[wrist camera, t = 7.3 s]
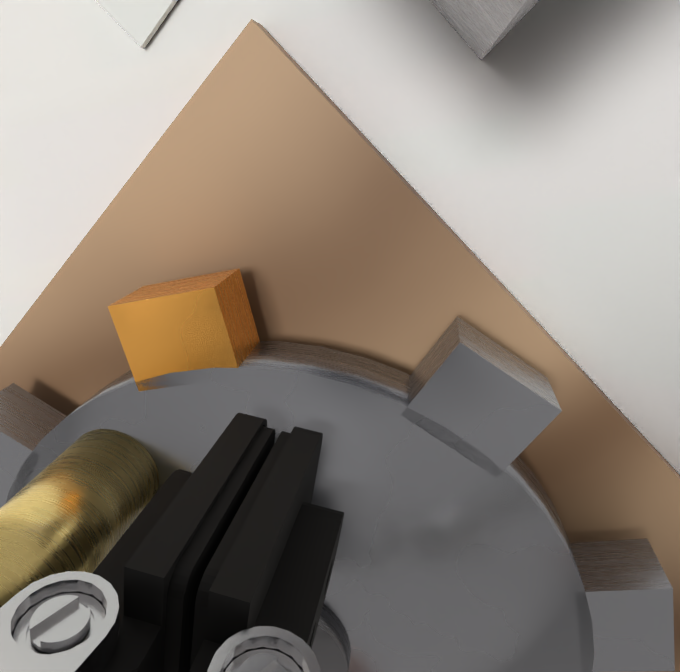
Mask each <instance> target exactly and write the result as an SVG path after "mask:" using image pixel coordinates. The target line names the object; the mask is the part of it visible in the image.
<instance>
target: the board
mask: <svg viewBox="0 0 680 672" xmlns="http://www.w3.org/2000/svg"><path fill="white" fill-rule="evenodd" d="M238 268H239V269H240V272H241V276H242V280H243V283H244V287H245V290H246V294H247V297H248V301H249V304H250V308H251V312H252V315H253V319H254V322H255V326H256V329H257V333H258V337H259V340H260V341H284V342H292V343H300V344H308V345H316V346H323V347H327V348H331V349H335V350H339V351H343V352H347V353H351V354H355V355H359V356H363V357H366V358H369V359H371V360H374V361H376V362H379V363H382V364H384V365H387V366H390V367H392V368H395V369H397V370H400V371H403V372H405V373H407V374H409V375H410V374H411V373H412V372H413V371H414V369H415V368H416V367H417V366H418V364H419V363H420V362H421V361H422V359H423V358H424V357H425V356H426V354H427V353H428V352H429V351H430V349H431V348H432V347H433V346H434V344H435V343H436V342H437V341H438V339H439V338H440V337H441V336H442V334H443V333H444V332H445V331H446V329H447V328H448V327H449V326H450V324H451V323H452V322H453V321H454V319H455V318H456V317H457V316H458V317H459V318H461V319H462V320H463V321H465V322H466V323H468V324H469V325H471V326H472V327H474V328H475V329H477V330H478V331H480V332H481V333H483V334H484V335H486V336H487V337H489V338H490V339H492V340H493V341H494V342H496V343H497V344H499V345H500V346H502V347H503V348H505V349H506V350H508V351H509V352H511V353H512V354H514V355H515V356H517V357H518V358H520V359H521V360H523V361H524V362H525V363H527V364H528V365H530V366H531V367H533V368H534V369H536V370H537V371H539V372H540V373H542V374H543V375H545V376H546V377H547V378H548V380H549V383H550V385H551V387H552V389H553V392H554V394H555V396H556V399H557V401H558V403H559V405H560V408H561V410H562V411H561V412H560V413H559V414H558V415H557V417H556V418H555V419H554V420H553V421H552V422H551V423H550V424H549V425H548V426H547V427H546V428H545V429H544V430H543V431H542V432H541V433H540V434H539V435H538V436H537V437H536V438H535V439H534V440H533V441H532V442H531V443H530V444H529V445H528V446H527V447H526V448H525V449H524V450H523V451H522V452H521V453H520V454H519V456H520V458H521V459H522V460H523V461H524V462H525V464H526V465H527V466H528V467H529V468H530V470H531V471H532V472H533V473H534V474H535V476H536V477H537V479H538V480H539V482H540V484H541V485H542V487H543V488H544V490H545V492H546V493H547V495H548V496H549V498H550V500H551V501H552V503H553V504H554V506H555V508H556V510H557V513H558V515H559V518H560V520H561V522H562V525H563V527H564V529H565V532H566V534H567V536H568V539H569V542H570V543H576V542H593V541H610V540H627V539H644V538H647V539H648V541H649V543H650V545H651V547H652V549H653V550H654V552H655V554H656V556H657V558H658V560H659V562H660V564H661V566H662V568H663V570H664V572H665V574H666V576H667V578H668V580H669V582H670V584H671V586H672V588H673V614H674V657H675V671H655V672H680V475H679V474H678V473H677V472H676V471H675V470H674V469H673V467H672V466H671V465H670V464H669V463H668V462H667V461H666V460H665V459H664V458H663V457H662V456H661V455H660V453H659V452H658V451H657V450H656V449H655V448H654V447H653V446H652V445H651V444H650V443H649V442H648V441H647V439H646V438H645V437H644V436H643V435H642V434H641V433H640V432H639V431H638V430H637V429H636V428H635V427H634V425H633V424H632V423H631V422H630V421H629V420H628V419H627V418H626V417H625V416H624V415H623V414H622V413H621V412H620V410H619V409H618V408H617V407H616V406H615V405H614V404H613V403H612V402H611V401H610V400H609V399H608V398H607V396H606V395H605V394H604V393H603V392H602V391H601V390H600V389H599V388H598V387H597V386H596V385H595V384H594V382H593V381H592V380H591V379H590V378H589V377H588V376H587V375H586V374H585V373H584V372H583V371H582V370H581V368H580V367H579V366H578V365H577V364H576V363H575V362H574V361H573V360H572V359H571V358H570V357H569V356H568V354H567V353H566V352H565V351H564V350H563V349H562V348H561V347H560V346H559V345H558V344H557V343H556V342H555V340H554V339H553V338H552V337H551V336H550V335H549V334H548V333H547V332H546V331H545V330H544V329H543V328H542V326H541V325H540V324H539V323H538V322H537V321H536V320H535V319H534V318H533V317H532V316H531V315H530V314H529V312H528V311H527V310H526V309H525V308H524V307H523V306H522V305H521V304H520V303H519V302H518V301H517V300H516V299H515V297H514V296H513V295H512V294H511V293H510V292H509V291H508V290H507V289H506V288H505V287H504V286H503V285H502V283H501V282H500V281H499V280H498V279H497V278H496V277H495V276H494V275H493V274H492V273H491V272H490V271H489V269H488V268H487V267H486V266H485V265H484V264H483V263H482V262H481V261H480V260H479V259H478V258H477V257H476V255H475V254H474V253H473V252H472V251H471V250H470V249H469V248H468V247H467V246H466V245H465V244H464V243H463V241H462V240H461V239H460V238H459V237H458V236H457V235H456V234H455V233H454V232H453V231H452V230H451V229H450V227H449V226H448V225H447V224H446V223H445V222H444V221H443V220H442V219H441V218H440V217H439V216H438V215H437V213H436V212H435V211H434V210H433V209H432V208H431V207H430V206H429V205H428V204H427V203H426V202H425V201H424V200H423V198H422V197H421V196H420V195H419V194H418V193H417V192H416V191H415V190H414V189H413V188H412V187H411V186H410V184H409V183H408V182H407V181H406V180H405V179H404V178H403V177H402V176H401V175H400V174H399V173H398V172H397V170H396V169H395V168H394V167H393V166H392V165H391V164H390V163H389V162H388V161H387V160H386V159H385V158H384V156H383V155H382V154H381V153H380V152H379V151H378V150H377V149H376V148H375V147H374V146H373V145H372V144H371V142H370V141H369V140H368V139H367V138H366V137H365V136H364V135H363V134H362V133H361V132H360V131H359V130H358V128H357V127H356V126H355V125H354V124H353V123H352V122H351V121H350V120H349V119H348V118H347V117H346V116H345V114H344V113H343V112H342V111H341V110H340V109H339V108H338V107H337V106H336V105H335V104H334V103H333V102H332V101H331V99H330V98H329V97H328V96H327V95H326V94H325V93H324V92H323V91H322V90H321V89H320V88H319V87H318V85H317V84H316V83H315V82H314V81H313V80H312V79H311V78H310V77H309V76H308V75H307V74H306V73H305V71H304V70H303V69H302V68H301V67H300V66H299V65H298V64H297V63H296V62H295V61H294V60H293V59H292V57H291V56H290V55H289V54H288V53H287V52H286V51H285V50H284V49H283V48H282V47H281V46H280V45H279V43H278V42H277V41H276V40H275V39H274V38H273V37H272V36H271V35H270V34H269V33H268V32H267V31H266V29H265V28H264V27H263V26H262V25H261V24H259V23H257V22H255V21H254V20H252V19H251V21H250V22H249V23H248V25H247V26H246V27H245V28H244V30H243V31H242V32H241V34H240V35H239V36H238V38H237V39H236V40H235V42H234V43H233V44H232V45H231V47H230V48H229V49H228V51H227V52H226V53H225V55H224V56H223V57H222V59H221V60H220V61H219V62H218V64H217V65H216V66H215V68H214V69H213V70H212V72H211V73H210V74H209V75H208V77H207V78H206V79H205V81H204V82H203V83H202V85H201V86H200V87H199V89H198V90H197V91H196V92H195V94H194V95H193V96H192V98H191V99H190V100H189V102H188V103H187V104H186V105H185V107H184V108H183V109H182V111H181V112H180V113H179V115H178V116H177V117H176V119H175V120H174V121H173V122H172V124H171V125H170V126H169V128H168V129H167V130H166V132H165V133H164V134H163V136H162V137H161V138H160V139H159V141H158V142H157V143H156V145H155V146H154V147H153V149H152V150H151V151H150V152H149V154H148V155H147V156H146V158H145V159H144V160H143V162H142V163H141V164H140V166H139V167H138V168H137V169H136V171H135V172H134V173H133V175H132V176H131V177H130V179H129V180H128V181H127V182H126V184H125V185H124V186H123V188H122V189H121V190H120V192H119V193H118V194H117V196H116V197H115V198H114V199H113V201H112V202H111V203H110V205H109V206H108V207H107V209H106V210H105V211H104V212H103V214H102V215H101V216H100V218H99V219H98V220H97V222H96V223H95V224H94V226H93V227H92V228H91V229H90V231H89V232H88V233H87V235H86V236H85V237H84V239H83V240H82V241H81V243H80V244H79V245H78V246H77V248H76V249H75V250H74V252H73V253H72V254H71V256H70V257H69V258H68V259H67V261H66V262H65V263H64V265H63V266H62V267H61V269H60V270H59V271H58V273H57V274H56V275H55V276H54V278H53V279H52V280H51V282H50V283H49V284H48V286H47V287H46V288H45V289H44V291H43V292H42V293H41V295H40V296H39V297H38V299H37V300H36V301H35V303H34V304H33V305H32V306H31V308H30V309H29V310H28V312H27V313H26V314H25V316H24V317H23V318H22V320H21V321H20V322H19V323H18V325H17V326H16V327H15V329H14V330H13V331H12V333H11V334H10V335H9V336H8V338H7V339H6V340H5V342H4V343H3V344H2V346H1V347H0V391H1V390H3V389H4V388H6V387H8V386H9V385H11V384H12V383H14V384H16V385H18V386H19V387H21V388H22V389H24V390H26V391H27V392H29V393H30V394H32V395H34V396H35V397H37V398H38V399H40V400H42V401H43V402H45V403H46V404H48V405H50V406H51V407H53V408H54V409H56V410H58V411H59V412H61V413H62V414H64V415H66V416H68V415H69V414H71V413H72V412H73V411H74V410H76V409H77V408H78V407H79V406H81V405H82V404H83V403H84V402H86V401H87V400H88V399H89V398H91V397H92V396H93V395H94V394H96V393H97V392H98V391H99V390H101V389H102V388H103V387H105V386H106V385H108V384H109V383H111V382H113V381H114V380H116V379H117V378H119V377H120V376H122V375H123V374H125V373H127V372H128V371H130V370H131V369H130V366H129V363H128V361H127V358H126V355H125V352H124V350H123V347H122V344H121V342H120V339H119V336H118V333H117V331H116V328H115V325H114V323H113V320H112V317H111V314H110V312H109V309H108V306H109V305H111V304H113V303H114V302H116V301H118V300H120V299H121V298H123V297H125V296H127V295H129V294H130V293H132V292H134V291H136V290H137V289H139V288H141V287H143V286H147V285H152V284H157V283H163V282H168V281H174V280H179V279H184V278H190V277H195V276H201V275H206V274H211V273H217V272H222V271H228V270H233V269H238Z"/></svg>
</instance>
